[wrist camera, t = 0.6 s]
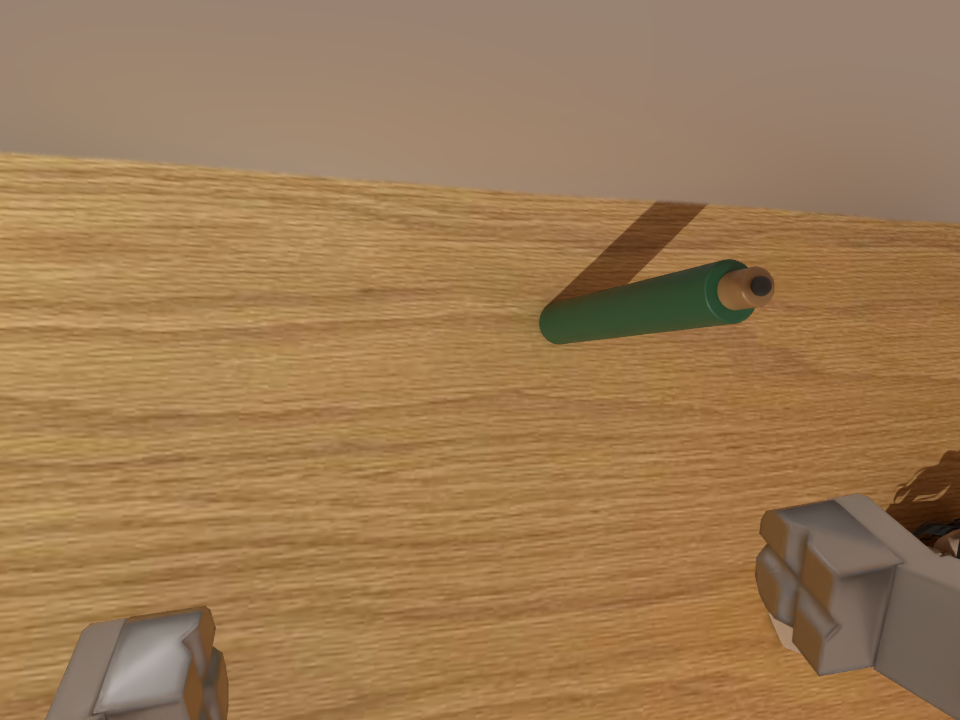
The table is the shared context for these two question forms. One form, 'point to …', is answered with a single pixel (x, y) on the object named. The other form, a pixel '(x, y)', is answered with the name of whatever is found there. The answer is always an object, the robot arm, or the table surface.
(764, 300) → the pencil
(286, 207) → the table surface
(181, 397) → the table surface
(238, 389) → the table surface
